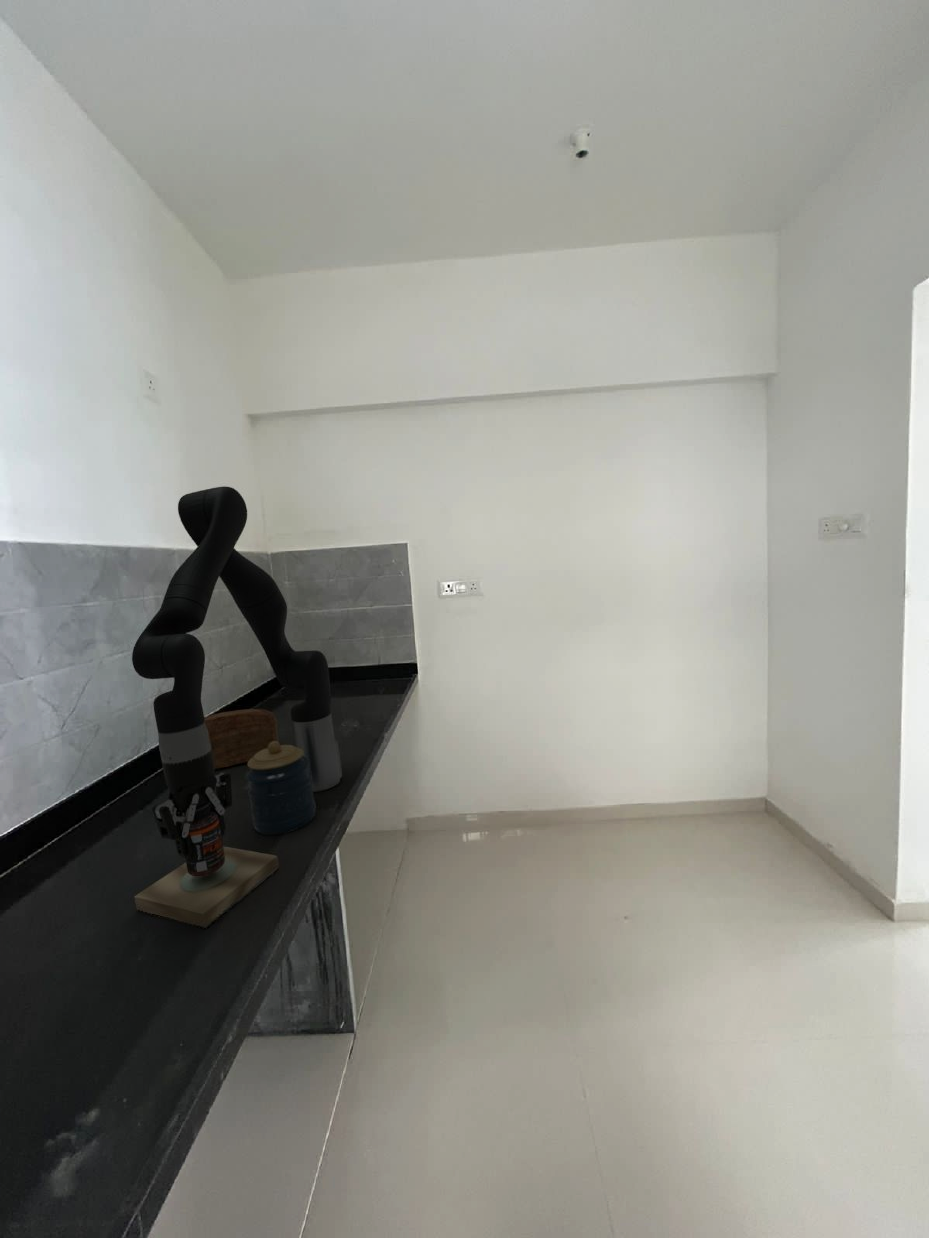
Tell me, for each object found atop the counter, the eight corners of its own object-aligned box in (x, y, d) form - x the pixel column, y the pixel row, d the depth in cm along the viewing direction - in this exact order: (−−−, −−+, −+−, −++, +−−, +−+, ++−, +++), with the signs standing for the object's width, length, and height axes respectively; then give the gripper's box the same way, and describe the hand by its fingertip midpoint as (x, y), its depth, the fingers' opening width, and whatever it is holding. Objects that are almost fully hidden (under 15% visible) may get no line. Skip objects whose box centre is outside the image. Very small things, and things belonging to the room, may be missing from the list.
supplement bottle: (211, 878, 90) (199, 815, 89) (180, 877, 91) (168, 814, 90) (233, 857, 96) (222, 797, 94) (203, 857, 97) (192, 797, 96)
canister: (242, 825, 116) (229, 746, 114) (297, 800, 126) (285, 727, 123) (272, 843, 107) (258, 758, 105) (328, 815, 117) (317, 736, 114)
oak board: (215, 856, 105) (213, 843, 104) (279, 868, 98) (277, 854, 98) (136, 910, 90) (134, 895, 90) (205, 928, 84) (202, 912, 83)
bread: (282, 757, 155) (274, 709, 153) (173, 782, 145) (163, 730, 143) (280, 745, 166) (273, 699, 164) (178, 767, 156) (170, 719, 154)
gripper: (163, 772, 83) (182, 873, 85) (236, 737, 96) (251, 826, 98) (130, 768, 86) (150, 866, 88) (206, 735, 99) (221, 822, 101)
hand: (203, 845), depth 93 cm, fingers closed on supplement bottle, 6 cm apart
